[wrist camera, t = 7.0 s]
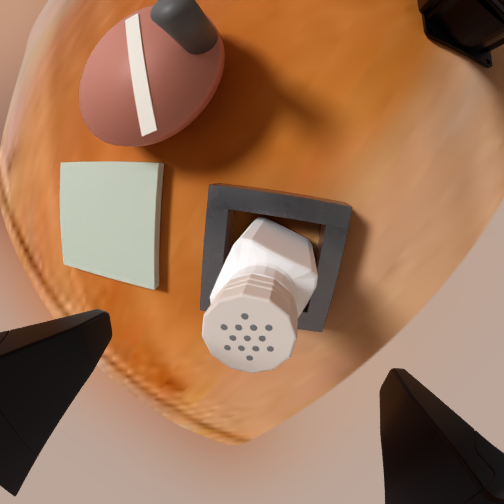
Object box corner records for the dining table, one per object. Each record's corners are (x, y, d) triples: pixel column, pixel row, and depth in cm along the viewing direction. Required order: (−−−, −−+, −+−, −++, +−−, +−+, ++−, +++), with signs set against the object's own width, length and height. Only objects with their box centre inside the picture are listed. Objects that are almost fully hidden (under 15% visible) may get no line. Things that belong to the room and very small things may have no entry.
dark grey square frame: (345, 202, 16) (352, 206, 14) (320, 316, 18) (321, 332, 16) (218, 183, 17) (209, 184, 15) (208, 296, 19) (199, 309, 17)
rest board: (164, 163, 17) (158, 163, 16) (159, 285, 20) (154, 289, 19) (67, 162, 18) (60, 162, 17) (69, 261, 21) (63, 264, 20)
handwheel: (242, 114, 13) (215, 87, 8) (100, 168, 15) (43, 174, 10) (208, -9, 11) (179, -52, 6) (86, 52, 13) (39, 36, 8)
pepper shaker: (232, 265, 18) (176, 350, 9) (258, 211, 17) (213, 259, 8) (286, 291, 18) (273, 395, 9) (315, 240, 17) (333, 317, 8)
